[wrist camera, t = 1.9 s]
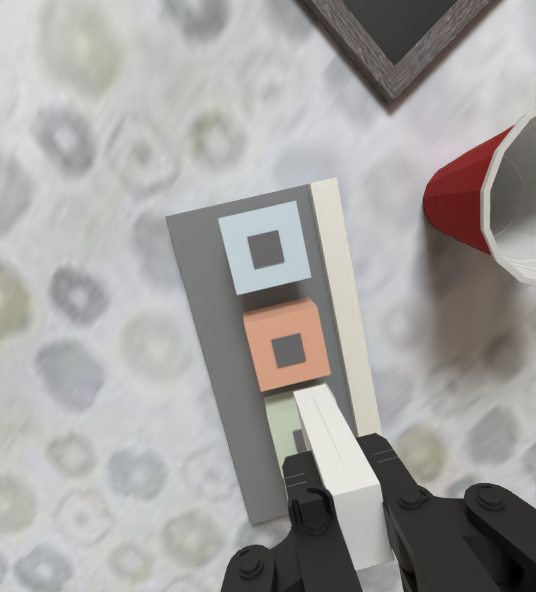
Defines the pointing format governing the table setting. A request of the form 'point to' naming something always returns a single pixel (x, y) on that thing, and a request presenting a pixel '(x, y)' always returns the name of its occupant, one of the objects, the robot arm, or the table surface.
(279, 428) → the key sage
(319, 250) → the keypad base
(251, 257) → the key blue
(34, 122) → the table surface
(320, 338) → the key terracotta
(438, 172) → the plastic cup
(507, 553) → the robot arm
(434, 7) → the picture frame
